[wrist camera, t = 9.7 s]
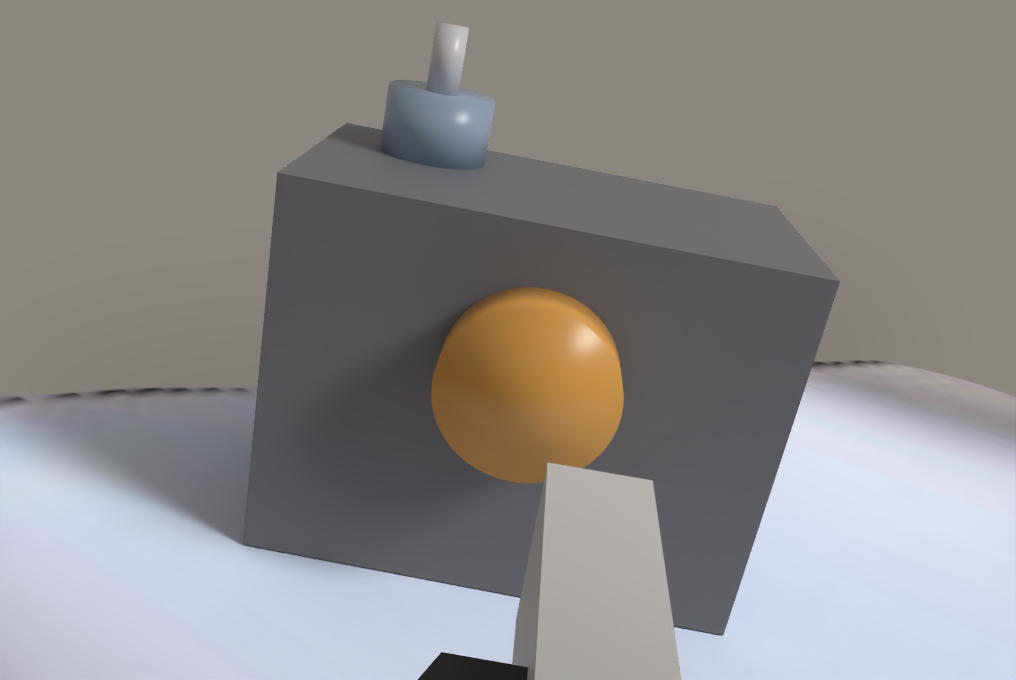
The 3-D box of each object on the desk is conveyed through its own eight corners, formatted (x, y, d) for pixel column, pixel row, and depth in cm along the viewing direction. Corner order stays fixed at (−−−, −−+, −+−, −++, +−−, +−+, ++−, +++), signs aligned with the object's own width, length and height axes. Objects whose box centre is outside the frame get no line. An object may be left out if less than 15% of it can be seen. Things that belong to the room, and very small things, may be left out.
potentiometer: (488, 155, 38) (509, 32, 36) (479, 176, 35) (503, 40, 33) (390, 136, 38) (406, 12, 36) (371, 155, 35) (388, 17, 33)
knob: (594, 397, 38) (628, 255, 36) (600, 498, 31) (643, 329, 29) (447, 368, 38) (472, 224, 36) (418, 463, 31) (447, 291, 29)
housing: (691, 495, 45) (775, 206, 39) (723, 635, 35) (840, 281, 30) (311, 422, 44) (346, 123, 39) (243, 544, 35) (277, 172, 30)
